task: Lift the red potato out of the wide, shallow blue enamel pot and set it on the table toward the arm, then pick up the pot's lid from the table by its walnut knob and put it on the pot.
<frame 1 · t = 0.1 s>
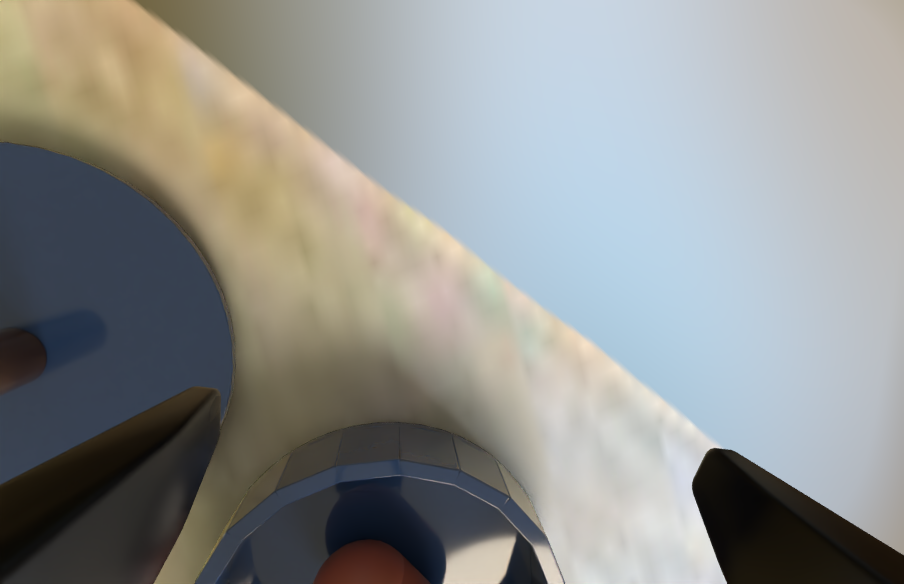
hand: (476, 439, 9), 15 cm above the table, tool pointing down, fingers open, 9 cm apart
lid: (23, 353, 22), point 1 cm above the table
pot: (386, 572, 26), on the table
potato: (386, 579, 25), resting on pot
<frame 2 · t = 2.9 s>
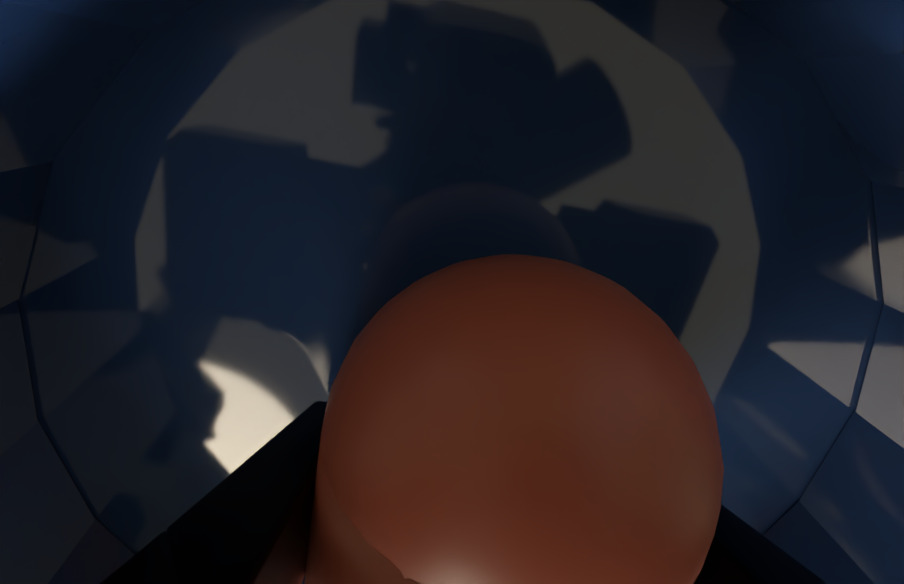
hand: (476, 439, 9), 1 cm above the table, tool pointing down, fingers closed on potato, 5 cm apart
pot: (468, 398, 10), on the table
potato: (470, 414, 9), point 1 cm above the table, touching gripper, pot
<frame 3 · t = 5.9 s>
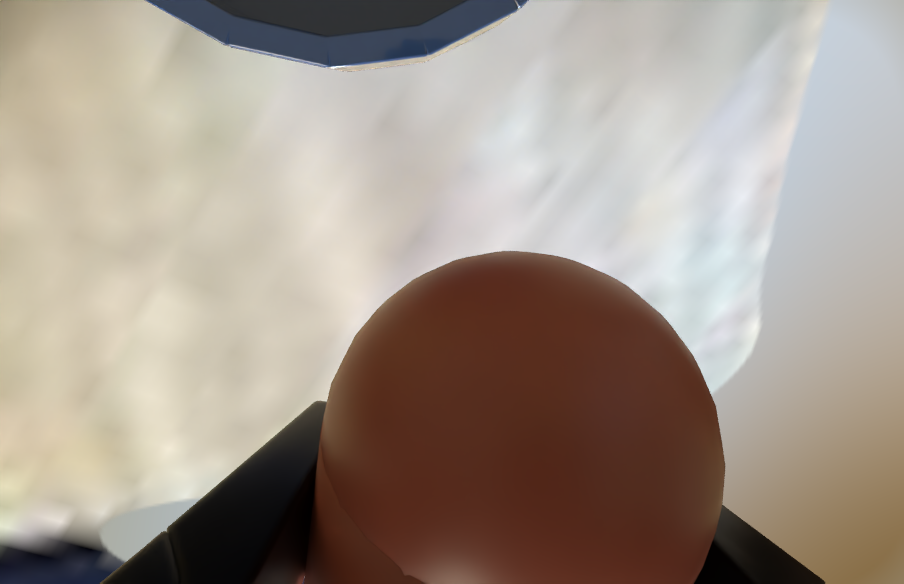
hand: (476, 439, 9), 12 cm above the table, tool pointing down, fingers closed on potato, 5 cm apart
potato: (471, 412, 9), point 11 cm above the table, touching gripper
when the fingers open (1 cm above the table, at t = 9.0 s): potato stays where it is, on the table.
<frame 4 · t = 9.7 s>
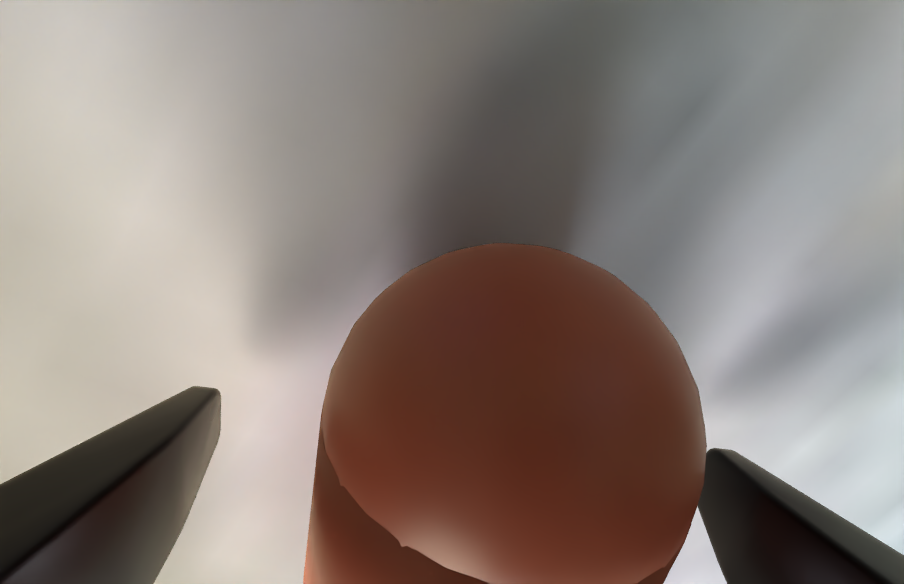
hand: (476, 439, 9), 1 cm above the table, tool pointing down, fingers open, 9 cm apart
potato: (467, 402, 10), on the table
when the fingers open (4 cm above the table, at t = 20.1 s): lid stays where it is, resting on pot.
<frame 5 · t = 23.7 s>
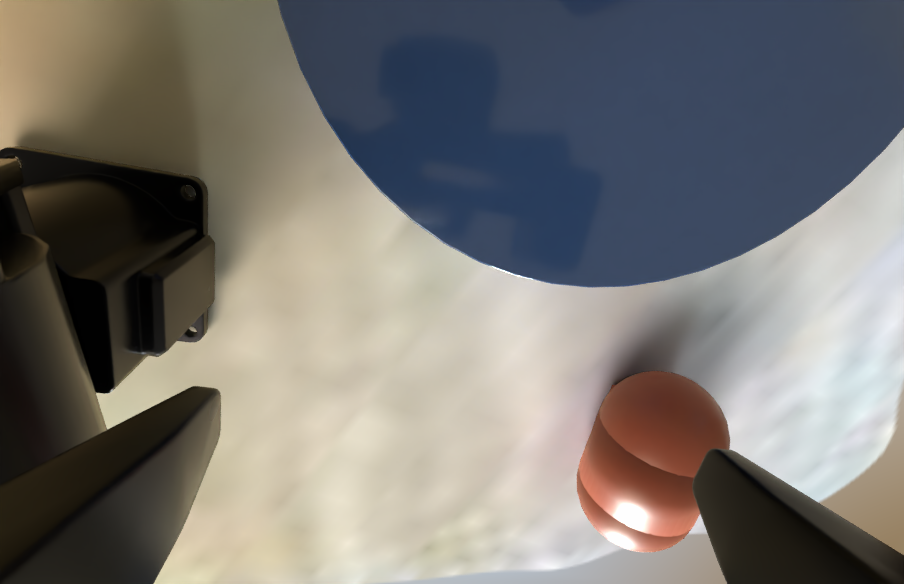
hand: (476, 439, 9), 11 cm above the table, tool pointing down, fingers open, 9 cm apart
potato: (624, 422, 23), on the table
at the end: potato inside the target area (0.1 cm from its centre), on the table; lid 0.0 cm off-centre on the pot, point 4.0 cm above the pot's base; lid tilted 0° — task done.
